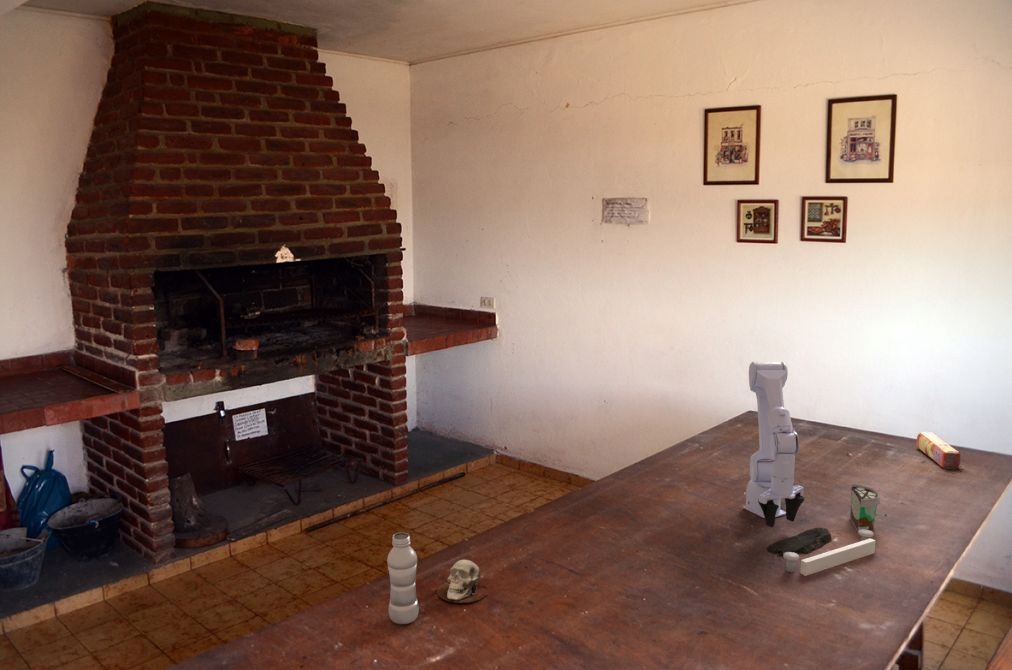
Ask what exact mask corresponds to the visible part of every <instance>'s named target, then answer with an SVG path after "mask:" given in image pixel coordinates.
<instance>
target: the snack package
mask: <svg viewBox="0 0 1012 670" xmlns="http://www.w3.org/2000/svg"><path fill="white" fill-rule="evenodd" d="M915 445H916V447H917V449H919V450H920V451H921V452H922V453H924V454H925V455H927V456H928V457H929V458H930V459H932V460H933V461H934V462H935V463H937V464H938V466H940V467H941V468H943V469H946V470H948V469H950V470H953V469H954V470H956V469H958V468H959V467H960V464H961V453H960V451H958V450H957V449H955V448H954V447H953V446H951V445H950V444H949V443H948V442H946V441H945V440H943V439H941V438H940V437H939V436H938V435H936V433H934V432H931V431H921V432H920V433H918V435H917V436H916V444H915Z"/></svg>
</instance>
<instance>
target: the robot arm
mask: <svg viewBox="0 0 1012 670" xmlns="http://www.w3.org/2000/svg"><path fill="white" fill-rule="evenodd" d="M788 371H789V370H788V365H787V364H786V363H785V362H784V361H779V362H778V361H774V362H772V361H771V362H768V361H763V362H759V361H751V363H750V364H749V367H748V383H749V385H748V386H749V390H750V391H751V392H752V393H755V397H756V402H757V403H756V404H757V421H758V425H757V426H758V442H759V449H758V450H757V451H756V452H754V453H753V454H751V456H750V458H749V461H750V462H749V464H750V465H749V477H750V480H749V481H748V482H747V484H746V488H745V489H746V491H745V492H746V494H745V505H743V509H745V510H747V511H748V512H751V513H753V514H755V515H757V516H759V517H761V518H763V519H764V520H765V526H768V527H769V528H774V527H775V521H776V518H777V517H781V516H785V518H786V520H788V521H790V522H792V523H793V522H795V519H796V517H797V514H798V511H799V509H800V507H801V505H802V504H803V503H804V501H805V497H804V496H803V495H804V489H805V488H804V487H803V486H801V485H794V479H795V478H794V477H795V465H796V463H795V460H796V457H795V456H796V455H797V454H798V452H799V449H800V442H799V441H800V440H799V436H798V435H799V434H798V433H797V432H796V429H795V428H794V427H793V424H792V420H791V414H790V411H789V410H788V409H787V408H785V404H784V395H783V388H784V386H785V384H786V381H787V380H788V375H789V374H788ZM782 499H784V502H785V511H784V509H783V510H782V509H781V500H782Z"/></svg>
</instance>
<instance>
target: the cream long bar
mask: <svg viewBox="0 0 1012 670" xmlns="http://www.w3.org/2000/svg"><path fill="white" fill-rule="evenodd" d="M857 533H858V535H859V536H860V541H858V542H855V543H851V544H848V545H846V546H841V547H838V548H836V549H833V550H832V549H831V550H829V551H826V552H823V553H819V554H816V555H813V556H810V557H807V558H803V559H801V561H800V573H799V574H801V575H803V576H804V577H805V576H806V577H807V576H810V575H813V574H815V573H819V572H821V571H825V570H828V569H831V568H834V567H836V566H837V567H838V566H840V565H843V564H845V563H846V564H847V563H848V562H853V561H855V560H858V559H861V558H864V557H867V556H870V555H873V554H875V552H876V543H877V542H876V540H875V539H873V537H874V532H873V530H872V531H870V530H865V529H861V530H859V531H858V532H857ZM782 557H783V559H785V560H786V565H785V567H786V568H785V570H786V572H788V573H795V571H796V570H795V569H796V562H797V561H799V559H800V555H799V554H798V553H793V552H786V553H784V555H783V556H782Z"/></svg>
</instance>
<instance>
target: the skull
mask: <svg viewBox="0 0 1012 670" xmlns="http://www.w3.org/2000/svg"><path fill="white" fill-rule="evenodd" d="M480 580H481V571H480V568H479V566H478V565H477V564H476V563H474V562H473V561H472V560H469V559H460V560H457V561H456V562H455V563H454V564H453V566H451V568H450V569H449V576H448V577H447V582H450V584H448V583H446V582H443V584H442V583H441V585H440V586H438V587H437V589H436V594H437V595H438V597H439V598H440V599H442V600H443V601H447V602H450V603H454V604H458V603H459V604H464V603H465V604H466V603H467V604H468V603H474V602H475V601H476V602H477V601H480V600H482V599H483V598H485V597H486V596H487V595H488V593H485V595H486V596H485V595H484V594H483V595H482V596H483V597H482V596H478V595H479V594H475V595H472V593H475V590H476V587H477V586H479V585H480V584H479V583H480Z"/></svg>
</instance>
